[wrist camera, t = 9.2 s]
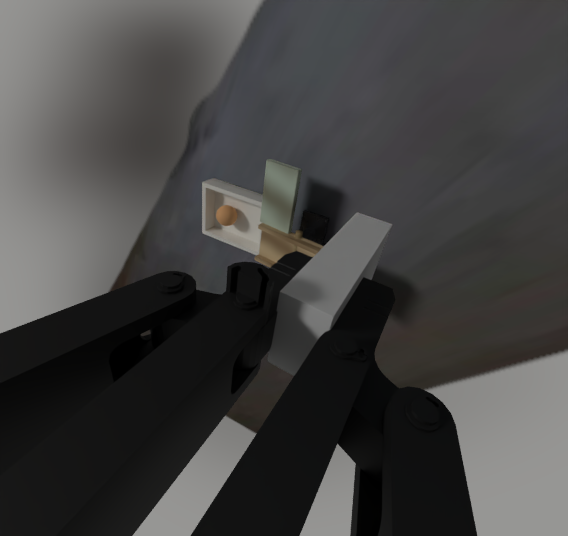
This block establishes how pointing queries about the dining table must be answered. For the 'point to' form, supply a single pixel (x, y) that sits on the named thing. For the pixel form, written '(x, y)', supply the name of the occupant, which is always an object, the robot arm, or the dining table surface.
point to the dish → (247, 210)
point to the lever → (281, 215)
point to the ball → (226, 215)
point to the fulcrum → (314, 227)
